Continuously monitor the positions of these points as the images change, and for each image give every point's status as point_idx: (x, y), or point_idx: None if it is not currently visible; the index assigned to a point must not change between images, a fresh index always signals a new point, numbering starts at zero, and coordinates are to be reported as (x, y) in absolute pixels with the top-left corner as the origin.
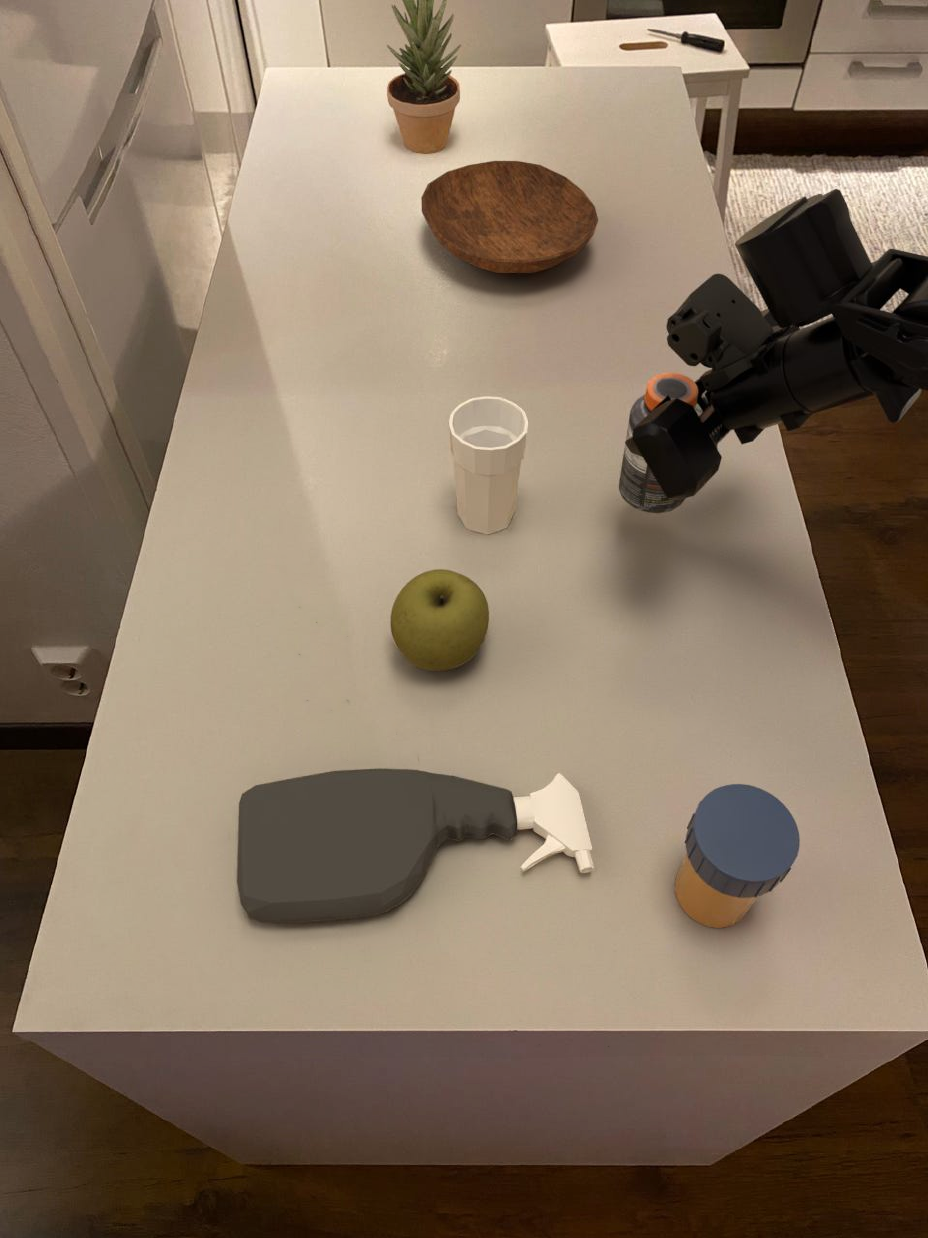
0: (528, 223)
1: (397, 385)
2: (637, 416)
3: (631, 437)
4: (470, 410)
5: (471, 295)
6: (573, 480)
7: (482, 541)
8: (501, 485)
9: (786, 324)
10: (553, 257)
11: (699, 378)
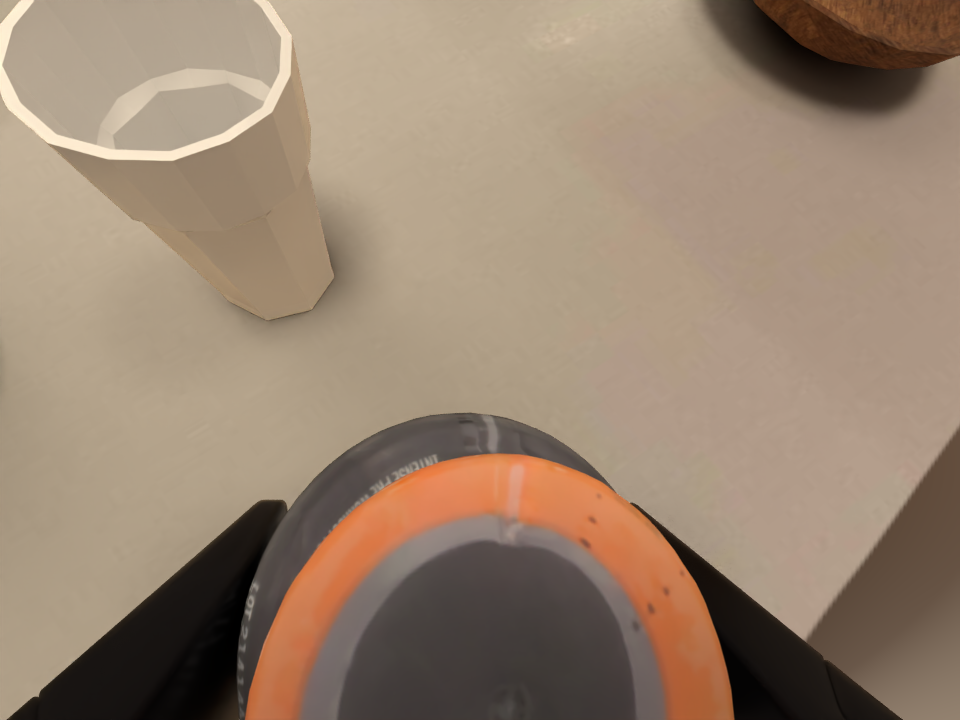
0: (874, 3)
1: (457, 20)
2: (309, 507)
3: (216, 544)
4: (231, 15)
5: (695, 15)
6: (457, 352)
7: (207, 302)
8: (181, 243)
9: None
10: (853, 30)
11: (814, 675)
